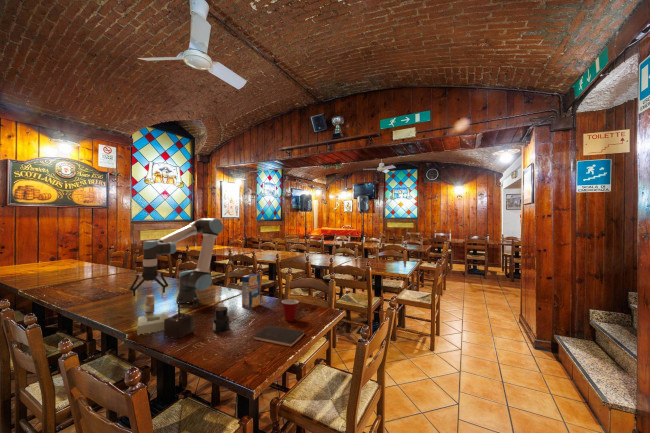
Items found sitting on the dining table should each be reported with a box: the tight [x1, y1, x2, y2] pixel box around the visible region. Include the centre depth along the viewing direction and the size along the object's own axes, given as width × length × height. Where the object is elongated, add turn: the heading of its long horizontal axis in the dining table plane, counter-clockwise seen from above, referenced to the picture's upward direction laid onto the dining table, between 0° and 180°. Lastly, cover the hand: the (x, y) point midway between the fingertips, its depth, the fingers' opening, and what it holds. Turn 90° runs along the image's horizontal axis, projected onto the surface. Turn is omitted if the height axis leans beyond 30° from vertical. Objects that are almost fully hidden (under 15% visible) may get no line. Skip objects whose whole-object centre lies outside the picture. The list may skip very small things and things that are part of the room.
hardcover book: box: [252, 324, 306, 347], centre depth 148 cm, size 16×23×2 cm
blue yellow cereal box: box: [241, 273, 261, 310], centre depth 199 cm, size 7×11×22 cm, turn 152°
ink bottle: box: [212, 306, 231, 333], centre depth 157 cm, size 10×9×12 cm
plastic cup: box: [281, 298, 300, 322], centre depth 173 cm, size 11×11×12 cm
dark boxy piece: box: [163, 297, 201, 339], centre depth 153 cm, size 16×11×18 cm
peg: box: [144, 294, 155, 316], centre depth 171 cm, size 5×5×15 cm
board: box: [136, 312, 170, 336], centre depth 159 cm, size 15×16×5 cm
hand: (149, 299), depth 170 cm, fingers open, 13 cm apart
